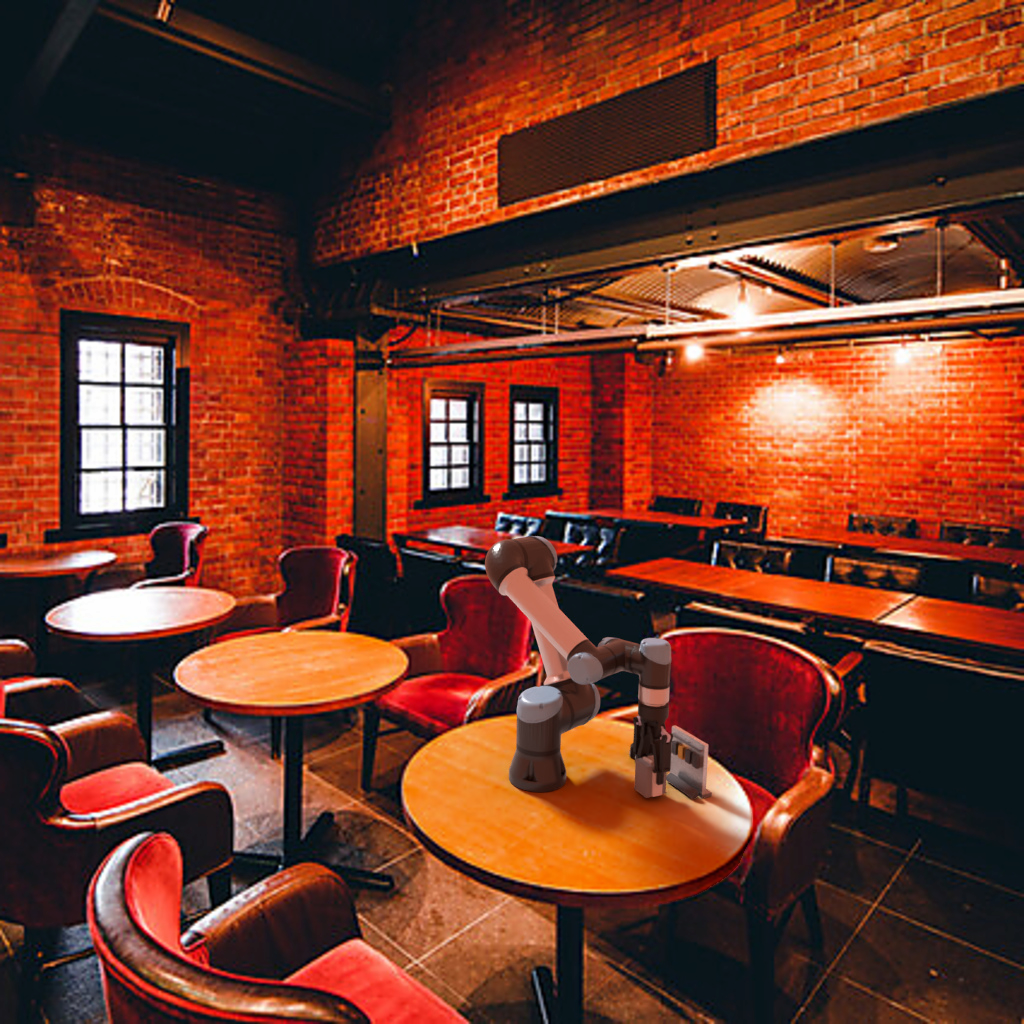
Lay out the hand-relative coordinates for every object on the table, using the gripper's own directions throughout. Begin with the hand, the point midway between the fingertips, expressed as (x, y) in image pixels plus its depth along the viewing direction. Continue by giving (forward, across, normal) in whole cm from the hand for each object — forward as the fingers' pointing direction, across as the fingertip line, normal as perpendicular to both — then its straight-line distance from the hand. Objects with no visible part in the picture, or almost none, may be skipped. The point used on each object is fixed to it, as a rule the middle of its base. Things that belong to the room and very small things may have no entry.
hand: (649, 789), depth 185 cm
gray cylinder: (+2, -1, -9) cm, 10 cm away
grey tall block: (0, 0, 0) cm, 0 cm away
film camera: (+2, +18, -12) cm, 21 cm away
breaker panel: (+2, 0, -12) cm, 12 cm away
